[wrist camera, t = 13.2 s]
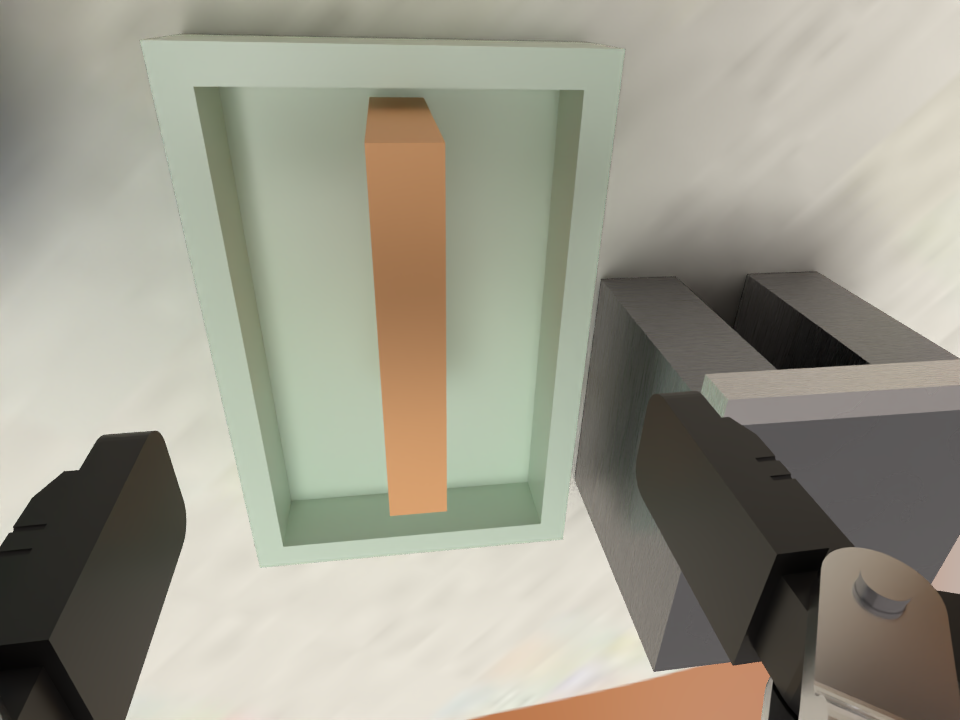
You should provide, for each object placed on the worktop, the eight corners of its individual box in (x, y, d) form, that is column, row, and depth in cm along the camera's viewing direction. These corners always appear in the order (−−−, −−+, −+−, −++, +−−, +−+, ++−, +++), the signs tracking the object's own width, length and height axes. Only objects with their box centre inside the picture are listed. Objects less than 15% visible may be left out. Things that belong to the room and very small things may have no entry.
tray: (181, 34, 17) (139, 40, 14) (586, 42, 19) (625, 49, 16) (273, 504, 26) (260, 567, 23) (543, 482, 28) (562, 539, 25)
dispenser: (603, 259, 23) (727, 399, 15) (823, 252, 24) (1050, 379, 16) (574, 479, 28) (653, 671, 20) (754, 465, 29) (898, 640, 21)
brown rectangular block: (369, 97, 18) (364, 142, 12) (423, 97, 18) (445, 142, 12) (387, 382, 23) (389, 515, 17) (429, 380, 23) (446, 511, 17)
